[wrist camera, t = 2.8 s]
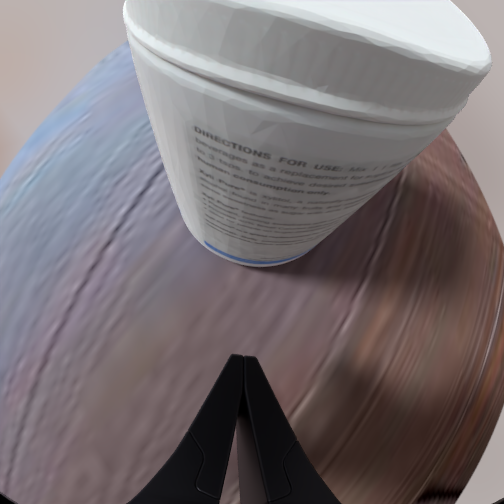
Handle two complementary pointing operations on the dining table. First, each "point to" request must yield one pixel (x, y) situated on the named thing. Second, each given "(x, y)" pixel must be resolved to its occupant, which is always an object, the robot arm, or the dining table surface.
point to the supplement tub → (294, 108)
